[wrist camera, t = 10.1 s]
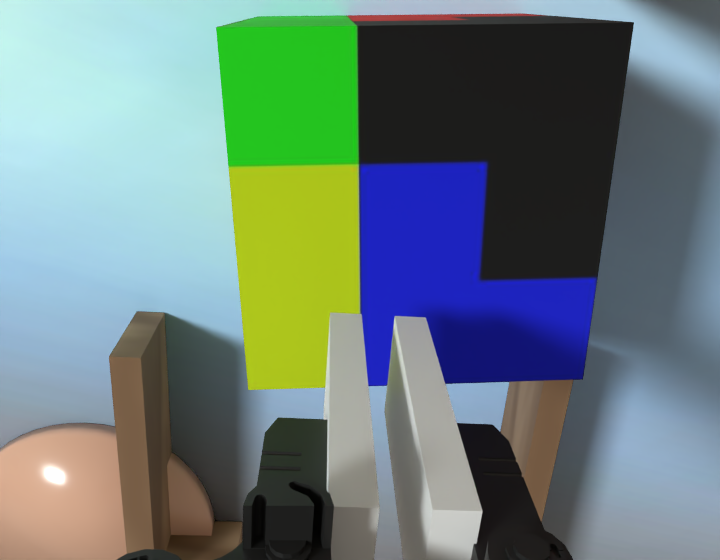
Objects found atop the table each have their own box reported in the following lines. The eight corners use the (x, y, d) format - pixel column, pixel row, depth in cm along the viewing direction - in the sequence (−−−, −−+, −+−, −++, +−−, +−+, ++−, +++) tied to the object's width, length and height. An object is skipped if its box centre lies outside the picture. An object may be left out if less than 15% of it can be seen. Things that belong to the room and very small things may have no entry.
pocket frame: (152, 537, 34) (131, 602, 31) (136, 311, 29) (108, 356, 25) (501, 545, 35) (521, 608, 32) (545, 329, 30) (574, 374, 27)
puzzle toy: (502, 258, 29) (582, 379, 20) (274, 264, 29) (248, 389, 20) (522, 13, 25) (634, 22, 16) (258, 16, 25) (216, 27, 16)
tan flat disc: (-9, 605, 36) (-18, 621, 35) (-47, 418, 31) (-59, 431, 30) (216, 608, 36) (213, 624, 35) (212, 427, 32) (209, 439, 31)
